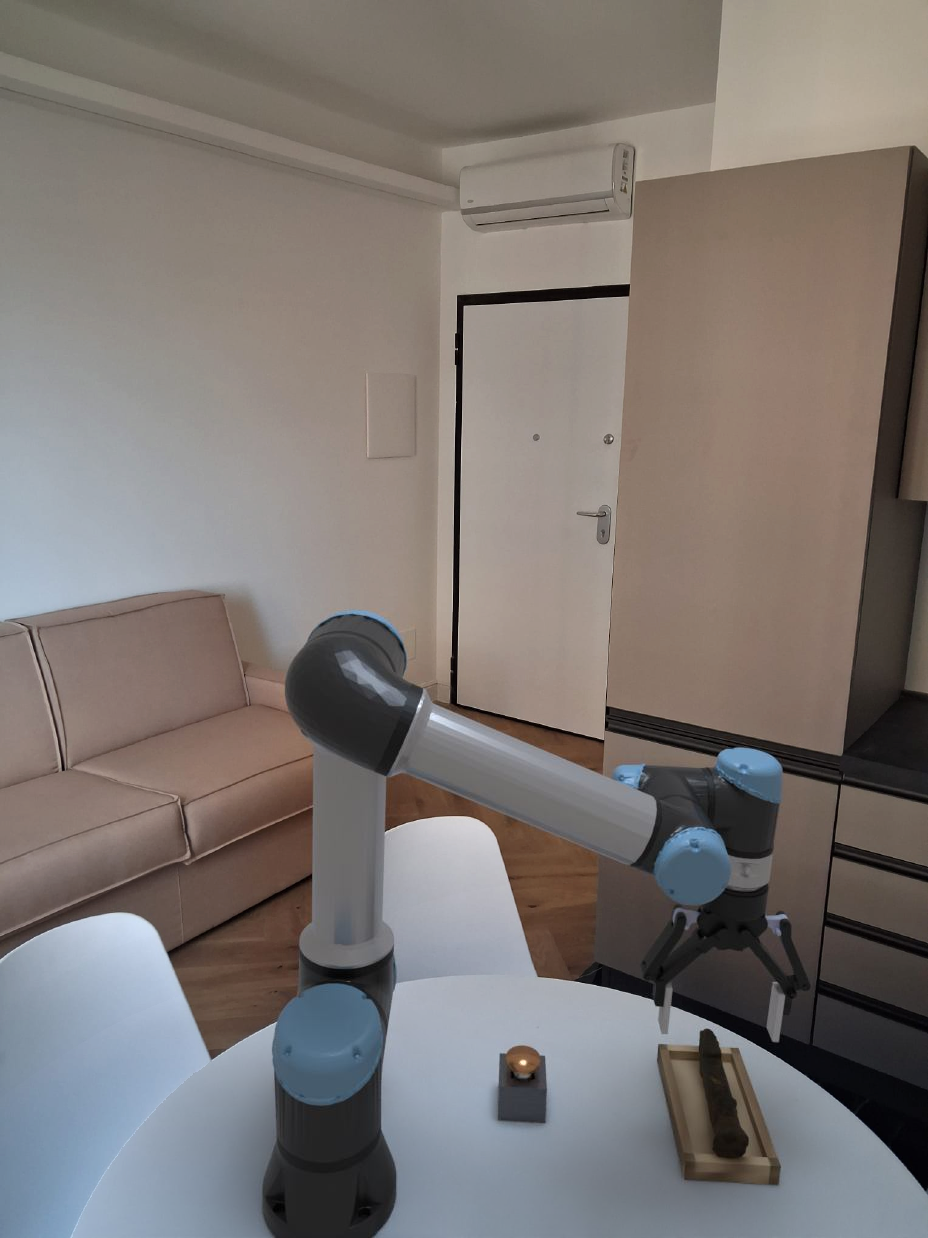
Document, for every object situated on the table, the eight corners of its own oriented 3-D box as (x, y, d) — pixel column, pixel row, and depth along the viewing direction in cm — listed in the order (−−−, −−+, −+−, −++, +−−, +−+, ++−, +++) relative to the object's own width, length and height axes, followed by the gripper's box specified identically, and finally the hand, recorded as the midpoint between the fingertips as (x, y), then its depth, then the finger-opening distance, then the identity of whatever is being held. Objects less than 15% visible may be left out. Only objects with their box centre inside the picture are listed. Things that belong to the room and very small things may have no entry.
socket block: (497, 1120, 114) (499, 1086, 113) (498, 1085, 120) (499, 1053, 119) (545, 1123, 114) (546, 1089, 113) (543, 1088, 120) (545, 1055, 119)
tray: (683, 1179, 106) (685, 1161, 106) (657, 1060, 126) (658, 1044, 125) (778, 1185, 106) (780, 1166, 105) (736, 1064, 125) (738, 1048, 124)
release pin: (504, 1114, 115) (505, 1068, 114) (504, 1089, 119) (506, 1044, 118) (538, 1116, 115) (541, 1070, 113) (537, 1091, 119) (539, 1046, 118)
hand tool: (747, 1163, 105) (751, 1130, 104) (712, 1159, 106) (715, 1125, 105) (723, 1052, 124) (726, 1023, 123) (693, 1049, 124) (696, 1019, 123)
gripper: (635, 886, 105) (620, 1044, 110) (853, 900, 104) (828, 1059, 109) (627, 855, 112) (613, 1004, 117) (831, 868, 111) (808, 1018, 116)
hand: (717, 1031), depth 113 cm, fingers open, 13 cm apart
